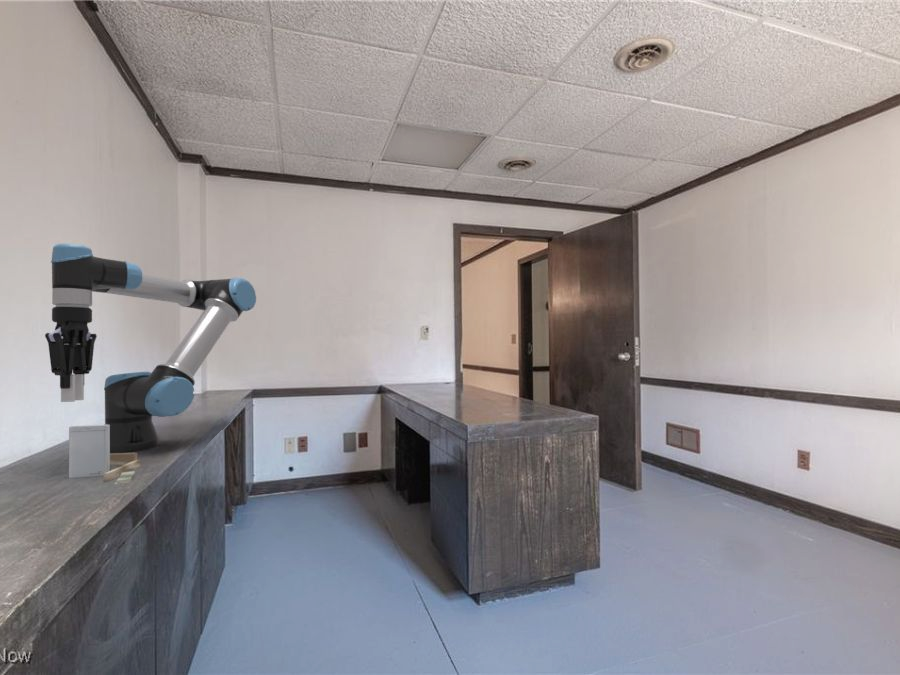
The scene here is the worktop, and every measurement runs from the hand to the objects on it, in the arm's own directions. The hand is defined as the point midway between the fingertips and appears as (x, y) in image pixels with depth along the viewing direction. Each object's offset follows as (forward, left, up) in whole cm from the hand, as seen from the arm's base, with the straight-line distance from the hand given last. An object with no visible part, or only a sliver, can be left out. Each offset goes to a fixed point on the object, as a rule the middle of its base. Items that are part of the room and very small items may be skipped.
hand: (72, 400), depth 106 cm
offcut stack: (+5, +16, -19) cm, 25 cm away
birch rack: (+2, +5, -18) cm, 19 cm away
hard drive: (+2, +5, -19) cm, 19 cm away
